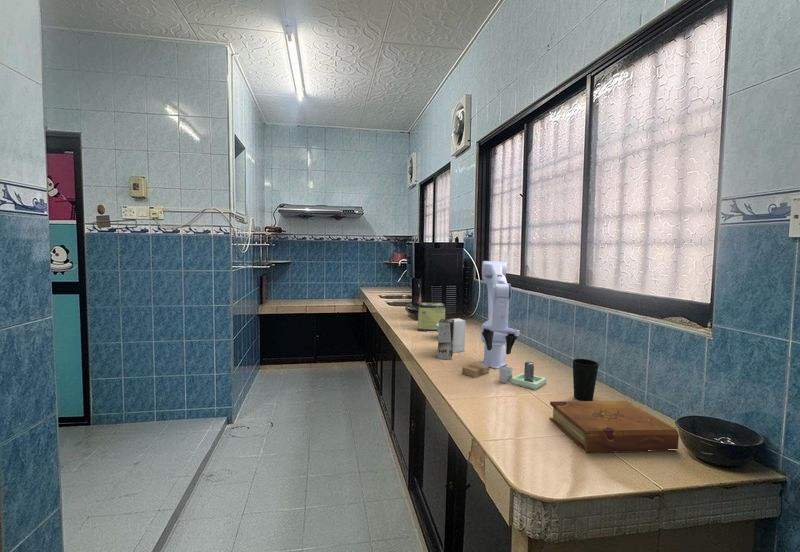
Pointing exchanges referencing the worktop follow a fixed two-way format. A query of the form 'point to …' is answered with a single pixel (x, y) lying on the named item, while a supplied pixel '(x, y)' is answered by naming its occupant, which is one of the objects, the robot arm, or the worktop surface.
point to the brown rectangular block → (475, 370)
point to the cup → (584, 378)
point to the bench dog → (505, 374)
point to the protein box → (430, 315)
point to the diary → (612, 426)
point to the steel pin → (529, 372)
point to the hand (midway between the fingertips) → (498, 351)
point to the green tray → (535, 385)
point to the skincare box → (459, 335)
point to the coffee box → (445, 339)
